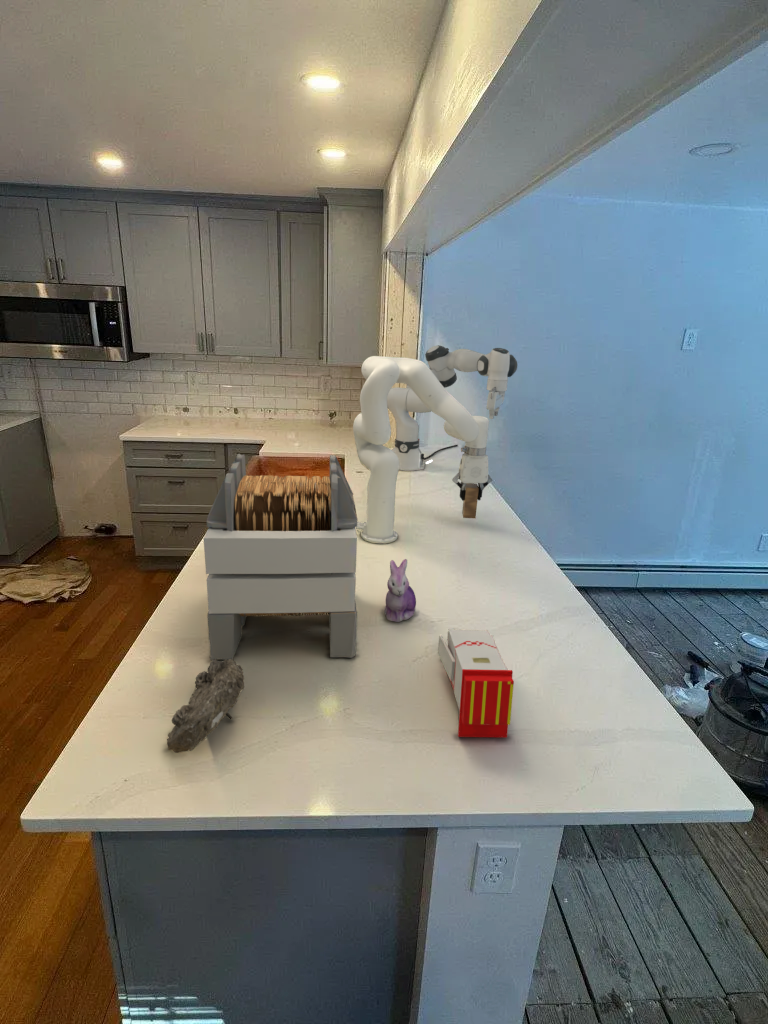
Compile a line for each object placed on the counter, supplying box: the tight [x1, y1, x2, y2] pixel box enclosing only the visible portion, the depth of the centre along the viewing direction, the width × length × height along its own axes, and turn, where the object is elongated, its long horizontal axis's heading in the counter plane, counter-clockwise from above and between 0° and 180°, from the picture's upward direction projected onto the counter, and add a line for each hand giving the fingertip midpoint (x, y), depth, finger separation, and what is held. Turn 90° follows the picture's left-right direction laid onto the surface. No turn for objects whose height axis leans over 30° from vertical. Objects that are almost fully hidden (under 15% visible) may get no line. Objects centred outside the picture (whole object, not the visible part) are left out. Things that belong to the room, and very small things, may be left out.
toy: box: [437, 628, 515, 738], centre depth 117 cm, size 12×13×30 cm
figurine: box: [384, 558, 417, 623], centre depth 145 cm, size 9×10×15 cm
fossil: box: [166, 659, 245, 754], centre depth 106 cm, size 22×10×15 cm
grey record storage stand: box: [203, 453, 359, 661], centre depth 135 cm, size 34×33×41 cm
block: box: [461, 483, 479, 520], centre depth 208 cm, size 4×6×12 cm
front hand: (470, 498), depth 208 cm, fingers closed on block, 5 cm apart
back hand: (493, 417), depth 257 cm, fingers open, 8 cm apart
